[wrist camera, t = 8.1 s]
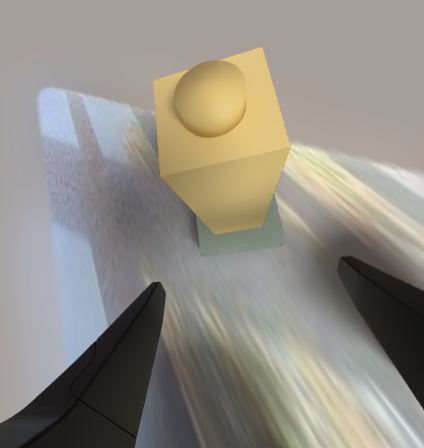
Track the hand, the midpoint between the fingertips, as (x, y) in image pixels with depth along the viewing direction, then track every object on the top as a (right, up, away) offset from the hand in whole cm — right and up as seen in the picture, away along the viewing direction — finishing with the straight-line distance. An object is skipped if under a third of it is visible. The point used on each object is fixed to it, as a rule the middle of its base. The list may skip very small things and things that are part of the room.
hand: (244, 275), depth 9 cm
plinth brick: (+1, +4, +11) cm, 12 cm away
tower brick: (+1, +4, +9) cm, 10 cm away
